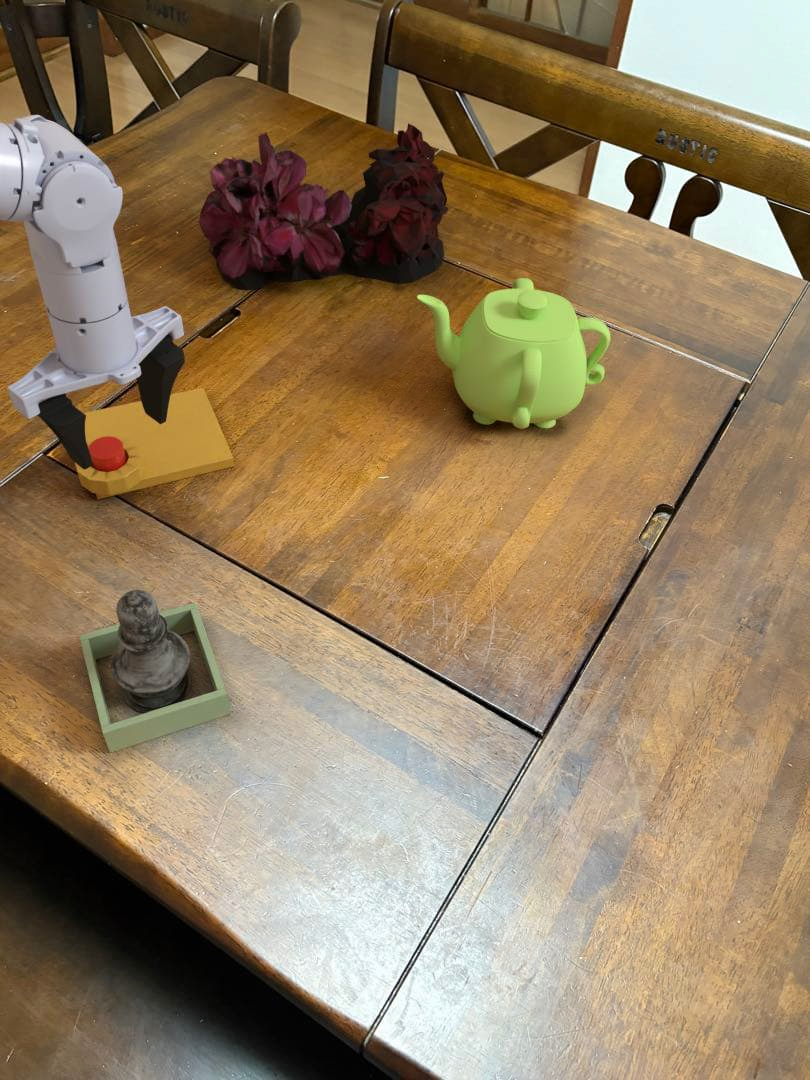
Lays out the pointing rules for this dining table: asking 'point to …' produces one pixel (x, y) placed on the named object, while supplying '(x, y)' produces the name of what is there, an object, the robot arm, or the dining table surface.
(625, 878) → the dining table surface
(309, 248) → the flower arrangement
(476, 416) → the teapot
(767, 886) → the dining table surface
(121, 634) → the chess piece
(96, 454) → the stop button
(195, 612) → the green square tray
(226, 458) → the control block
